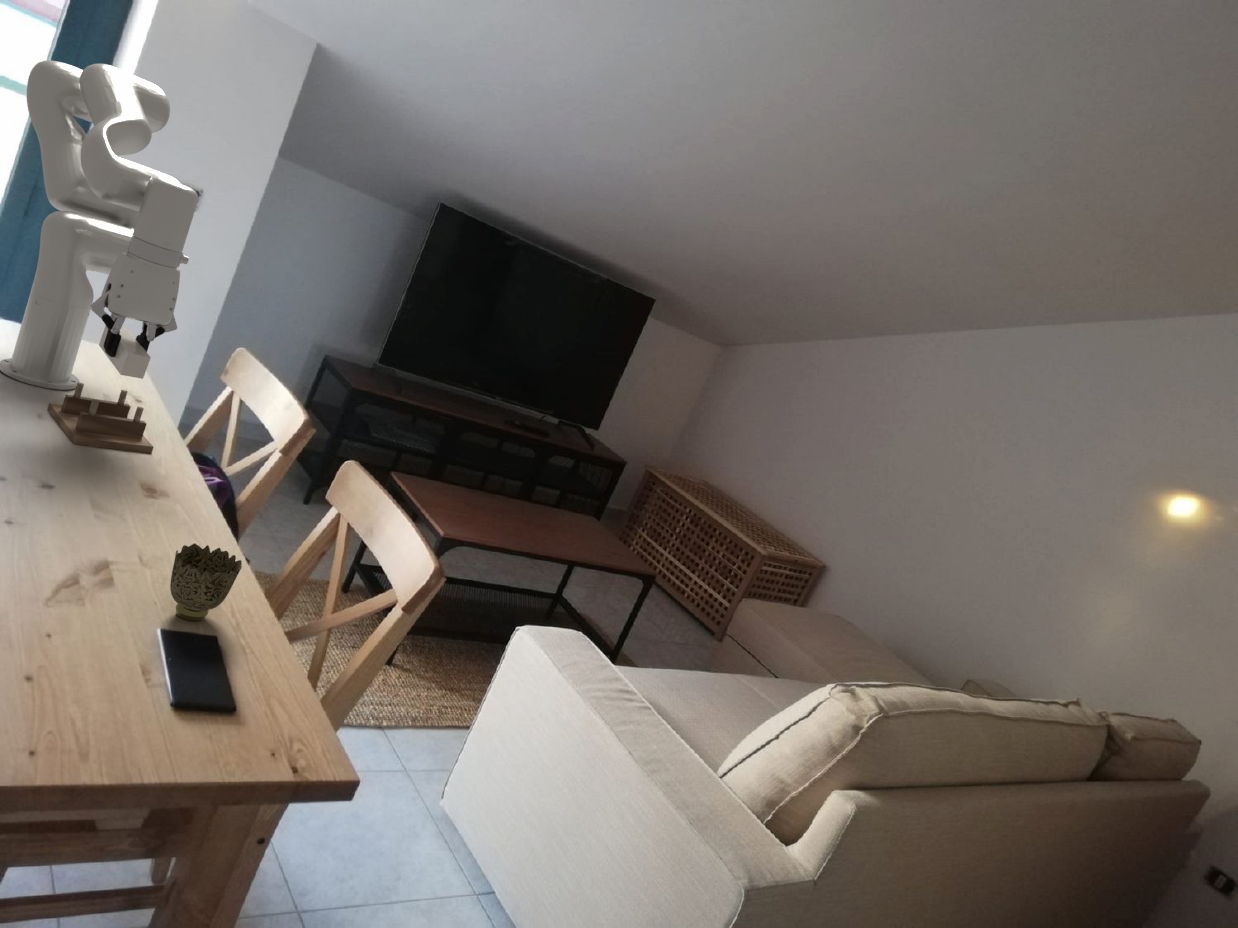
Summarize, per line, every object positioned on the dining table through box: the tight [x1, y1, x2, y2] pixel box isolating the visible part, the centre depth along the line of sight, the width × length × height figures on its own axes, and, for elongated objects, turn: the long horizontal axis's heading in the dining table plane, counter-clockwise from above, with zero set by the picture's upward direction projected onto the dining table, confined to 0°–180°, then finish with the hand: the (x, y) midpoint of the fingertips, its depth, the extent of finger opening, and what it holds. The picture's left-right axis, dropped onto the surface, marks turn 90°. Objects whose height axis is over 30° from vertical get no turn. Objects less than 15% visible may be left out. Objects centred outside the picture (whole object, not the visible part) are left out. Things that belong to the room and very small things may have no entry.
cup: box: [169, 543, 243, 622], centre depth 104 cm, size 8×7×8 cm
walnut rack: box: [47, 381, 154, 454], centre depth 147 cm, size 15×12×7 cm
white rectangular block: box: [98, 325, 152, 380], centre depth 145 cm, size 12×4×4 cm, turn 49°
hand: (123, 356), depth 145 cm, fingers closed on white rectangular block, 3 cm apart
